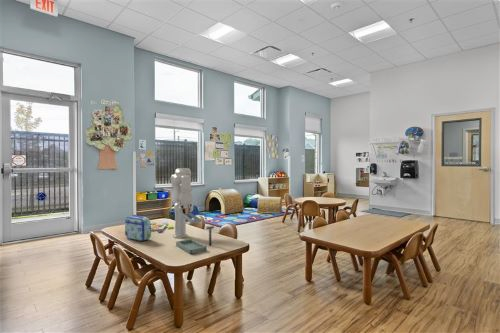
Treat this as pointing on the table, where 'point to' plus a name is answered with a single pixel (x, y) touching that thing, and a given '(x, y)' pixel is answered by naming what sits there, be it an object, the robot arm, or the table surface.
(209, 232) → the stake
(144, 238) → the lunch box
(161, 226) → the pattern blocks set
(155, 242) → the table surface
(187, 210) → the grey elongated block
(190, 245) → the tray
